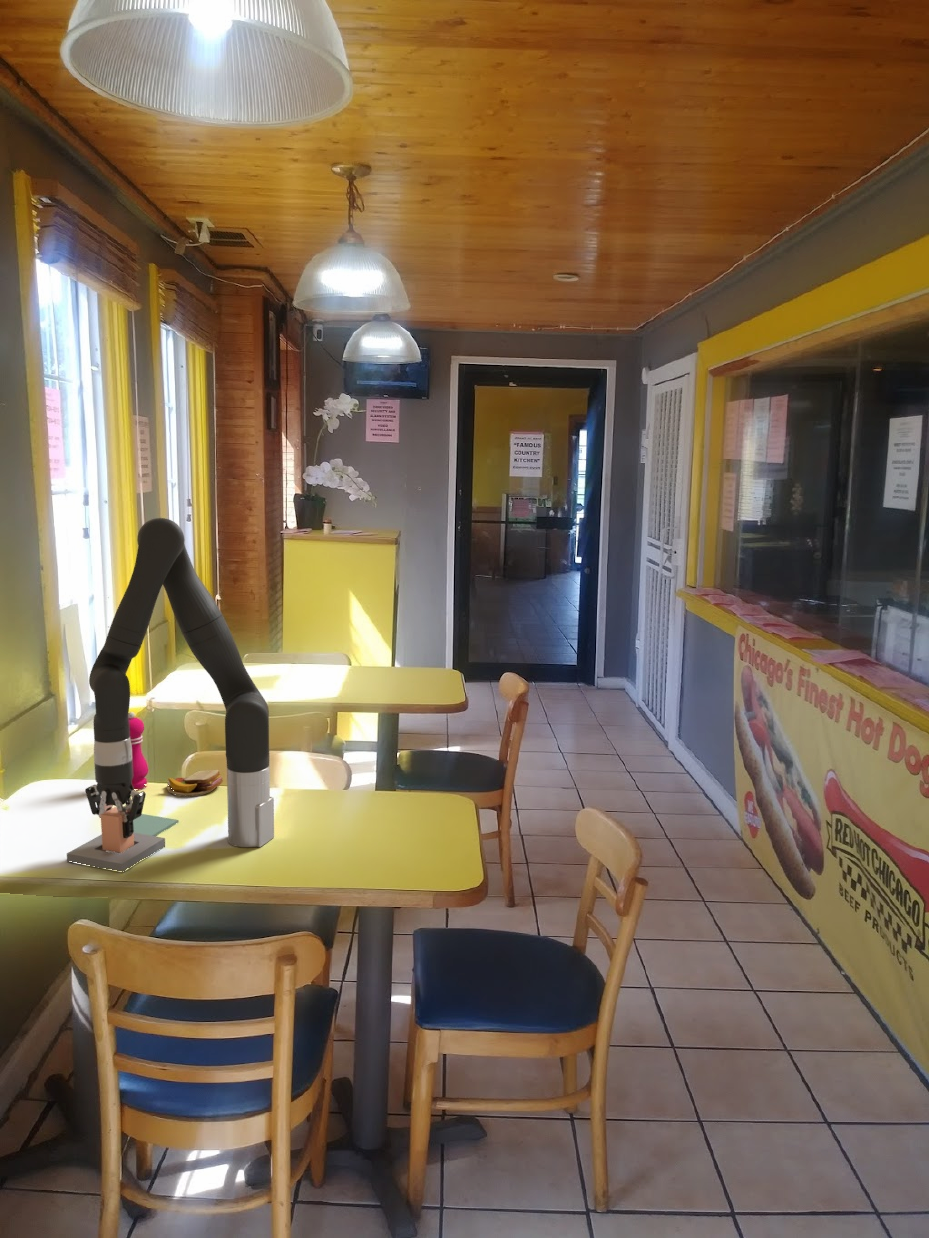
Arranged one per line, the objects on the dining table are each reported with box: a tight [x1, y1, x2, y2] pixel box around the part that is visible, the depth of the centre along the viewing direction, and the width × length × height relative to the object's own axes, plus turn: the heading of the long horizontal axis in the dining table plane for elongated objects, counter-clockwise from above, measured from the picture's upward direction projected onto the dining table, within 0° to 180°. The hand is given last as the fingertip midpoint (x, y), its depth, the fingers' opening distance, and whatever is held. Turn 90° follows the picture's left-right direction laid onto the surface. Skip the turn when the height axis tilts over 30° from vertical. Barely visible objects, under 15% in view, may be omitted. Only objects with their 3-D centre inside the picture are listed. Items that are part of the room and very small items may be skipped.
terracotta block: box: [100, 806, 134, 854], centre depth 195 cm, size 4×4×8 cm
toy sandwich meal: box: [166, 769, 223, 798], centre depth 235 cm, size 12×14×5 cm
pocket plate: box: [66, 833, 166, 872], centre depth 196 cm, size 14×14×2 cm
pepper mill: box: [128, 711, 149, 790], centre depth 234 cm, size 7×7×20 cm
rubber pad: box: [133, 813, 179, 837], centre depth 210 cm, size 11×11×1 cm
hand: (117, 834), depth 195 cm, fingers closed on terracotta block, 4 cm apart
